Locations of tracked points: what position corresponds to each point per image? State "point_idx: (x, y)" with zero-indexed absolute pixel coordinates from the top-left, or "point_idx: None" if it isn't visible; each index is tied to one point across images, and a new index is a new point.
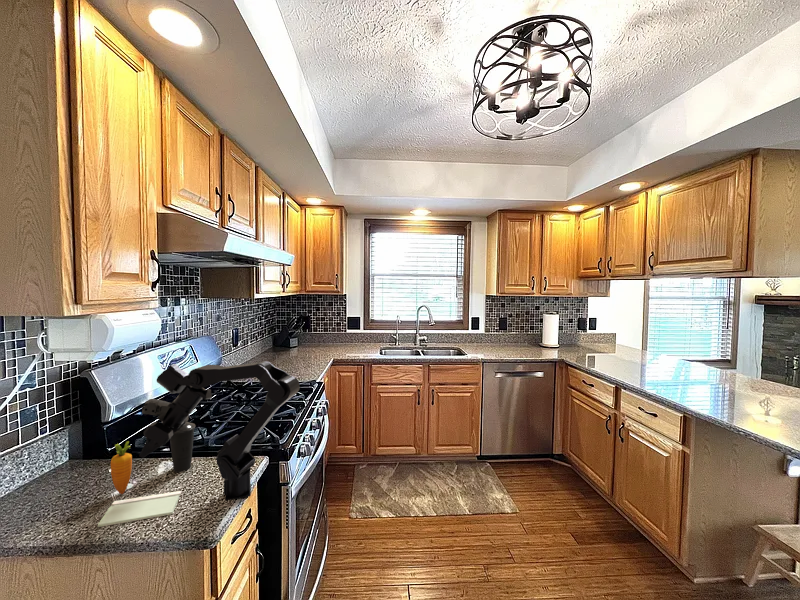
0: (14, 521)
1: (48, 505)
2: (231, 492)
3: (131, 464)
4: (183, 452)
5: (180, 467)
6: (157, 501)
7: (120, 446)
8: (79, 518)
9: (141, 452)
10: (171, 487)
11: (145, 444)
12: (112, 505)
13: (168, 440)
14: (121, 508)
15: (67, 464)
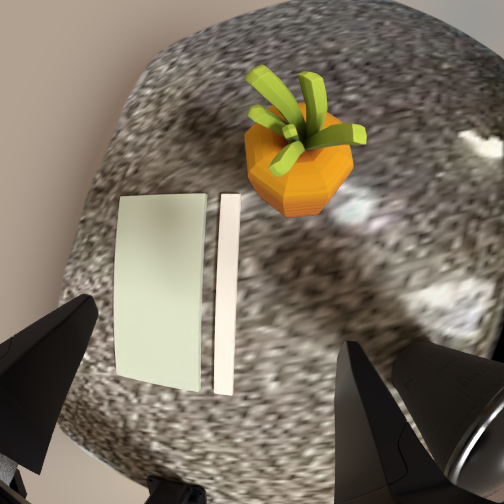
0: (240, 22)
1: (293, 45)
2: (151, 493)
3: (311, 210)
4: (412, 414)
5: (396, 375)
6: (180, 334)
7: (314, 102)
8: (187, 133)
9: (61, 309)
10: (281, 361)
11: (4, 347)
12: (222, 195)
13: (17, 474)
14: (177, 232)
15: (487, 52)
